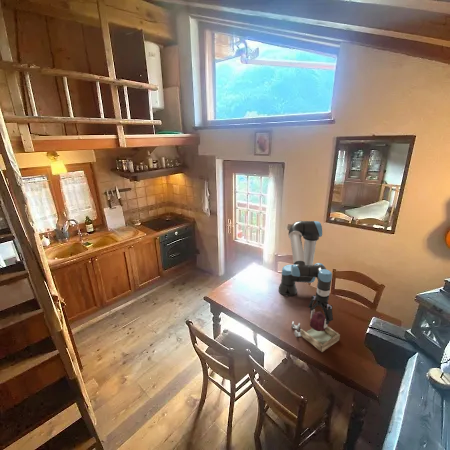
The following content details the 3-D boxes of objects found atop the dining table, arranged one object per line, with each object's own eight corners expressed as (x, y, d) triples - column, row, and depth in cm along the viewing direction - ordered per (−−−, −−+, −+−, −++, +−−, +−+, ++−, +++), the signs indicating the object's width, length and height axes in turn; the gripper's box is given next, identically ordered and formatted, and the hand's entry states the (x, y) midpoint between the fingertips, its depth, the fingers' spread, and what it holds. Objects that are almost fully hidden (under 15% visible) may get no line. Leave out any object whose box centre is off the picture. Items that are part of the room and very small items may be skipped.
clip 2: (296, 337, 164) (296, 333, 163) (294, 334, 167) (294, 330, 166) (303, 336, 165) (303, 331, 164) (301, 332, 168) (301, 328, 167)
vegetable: (323, 336, 157) (328, 323, 149) (307, 329, 162) (311, 315, 153) (327, 323, 165) (332, 310, 156) (312, 316, 169) (316, 303, 160)
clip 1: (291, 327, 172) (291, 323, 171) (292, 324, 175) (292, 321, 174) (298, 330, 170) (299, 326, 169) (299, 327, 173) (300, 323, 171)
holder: (300, 334, 166) (300, 329, 164) (316, 324, 175) (317, 319, 173) (322, 352, 152) (322, 346, 151) (339, 340, 161) (340, 334, 160)
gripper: (304, 287, 161) (301, 315, 168) (335, 305, 143) (330, 335, 151) (311, 283, 164) (308, 311, 172) (342, 300, 147) (337, 330, 155)
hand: (318, 322), depth 161 cm, fingers closed on vegetable, 9 cm apart
